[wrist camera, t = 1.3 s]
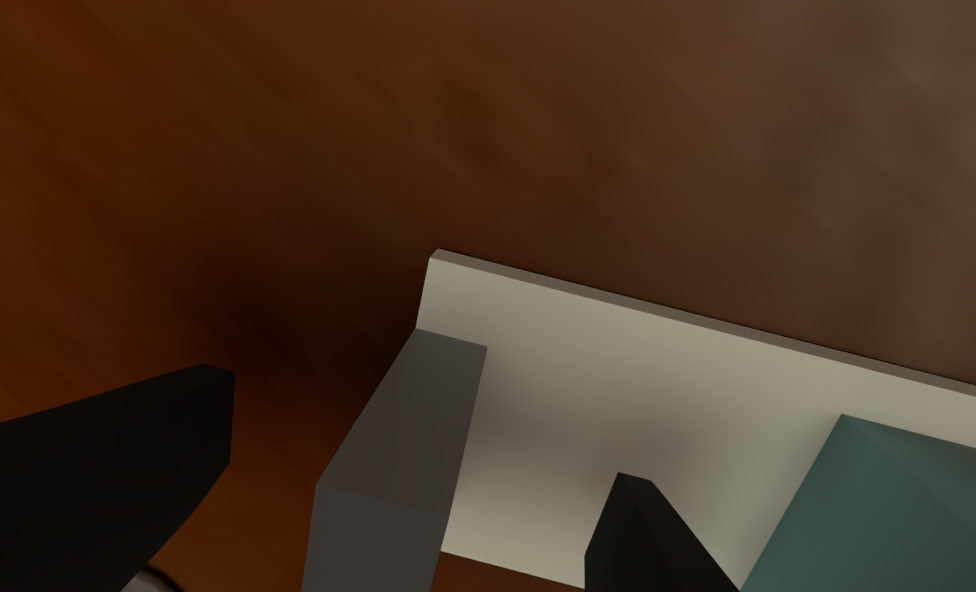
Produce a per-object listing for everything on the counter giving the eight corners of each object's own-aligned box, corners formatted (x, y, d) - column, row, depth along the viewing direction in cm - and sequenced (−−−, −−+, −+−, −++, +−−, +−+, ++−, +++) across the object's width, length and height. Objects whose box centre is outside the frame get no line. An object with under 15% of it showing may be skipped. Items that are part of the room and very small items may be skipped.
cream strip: (1106, 418, 9) (1757, 733, 4) (921, 649, 12) (1212, 1029, 7) (438, 248, 10) (333, 364, 5) (384, 508, 12) (275, 775, 7)
